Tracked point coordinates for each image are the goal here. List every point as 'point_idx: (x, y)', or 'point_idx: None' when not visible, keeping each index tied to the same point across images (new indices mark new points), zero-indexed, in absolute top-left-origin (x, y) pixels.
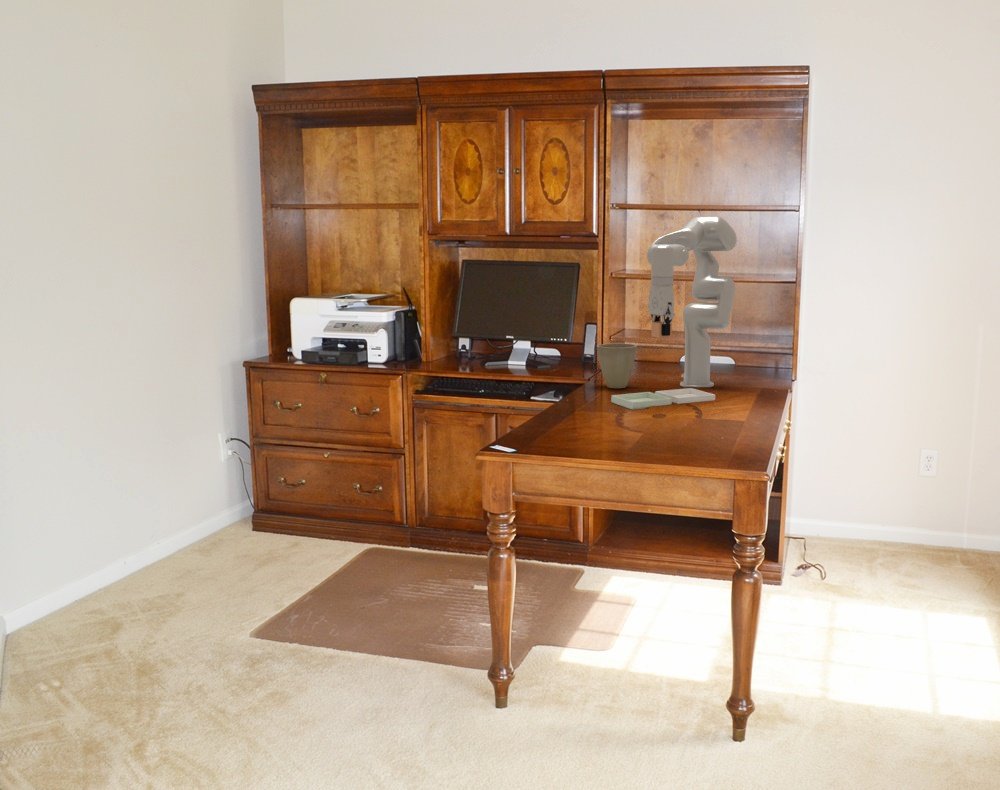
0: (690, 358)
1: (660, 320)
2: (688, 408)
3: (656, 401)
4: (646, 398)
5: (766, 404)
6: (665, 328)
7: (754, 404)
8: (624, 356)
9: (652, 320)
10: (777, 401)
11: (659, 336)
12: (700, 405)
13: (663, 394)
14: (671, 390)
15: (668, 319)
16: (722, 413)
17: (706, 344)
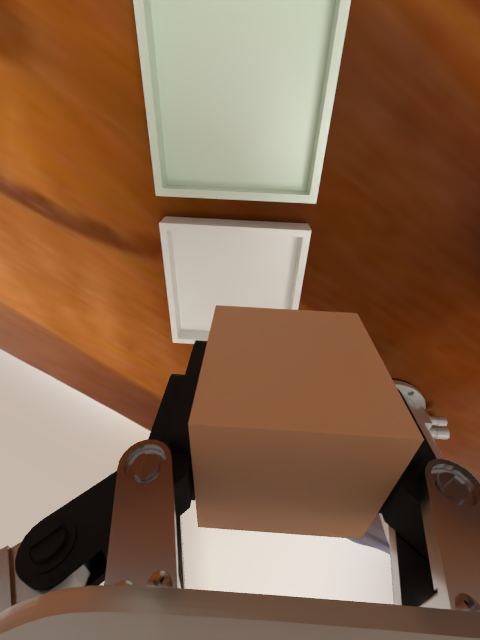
0: None
1: (390, 534)
2: (109, 216)
3: (148, 119)
4: (297, 175)
5: (111, 391)
6: (160, 409)
7: (117, 375)
8: None
9: (477, 491)
10: (135, 419)
11: (213, 317)
12: (144, 273)
13: (253, 226)
14: (294, 287)
15: (32, 529)
16: (17, 256)
17: (384, 527)
